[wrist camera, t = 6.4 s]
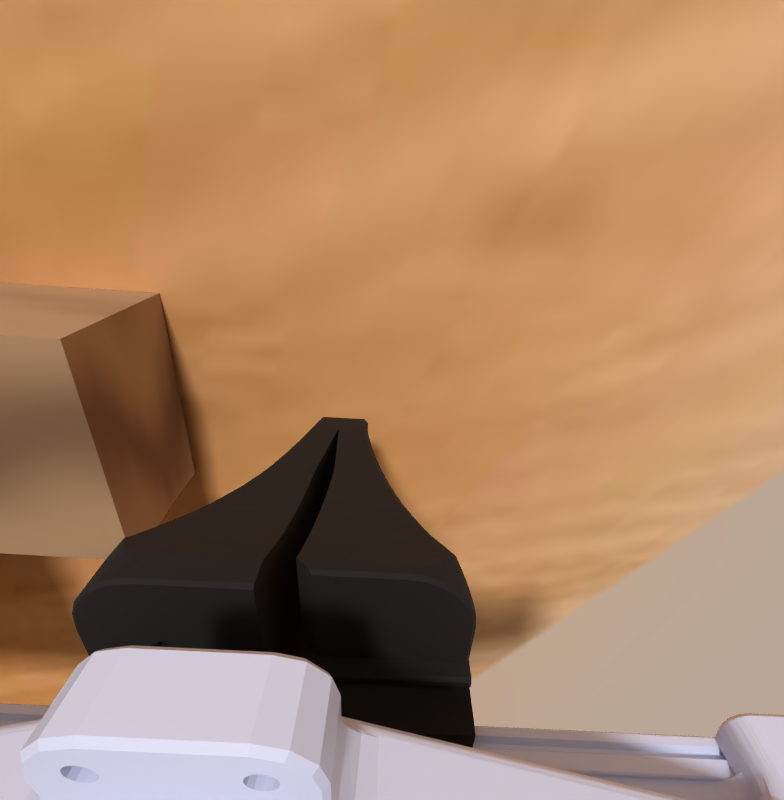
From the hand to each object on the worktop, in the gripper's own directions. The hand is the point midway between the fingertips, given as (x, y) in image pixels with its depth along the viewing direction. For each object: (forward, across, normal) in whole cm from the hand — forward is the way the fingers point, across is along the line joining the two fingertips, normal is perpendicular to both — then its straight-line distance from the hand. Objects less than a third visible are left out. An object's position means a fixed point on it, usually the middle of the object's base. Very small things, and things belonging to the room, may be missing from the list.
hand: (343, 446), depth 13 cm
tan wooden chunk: (+3, +11, 0) cm, 11 cm away
